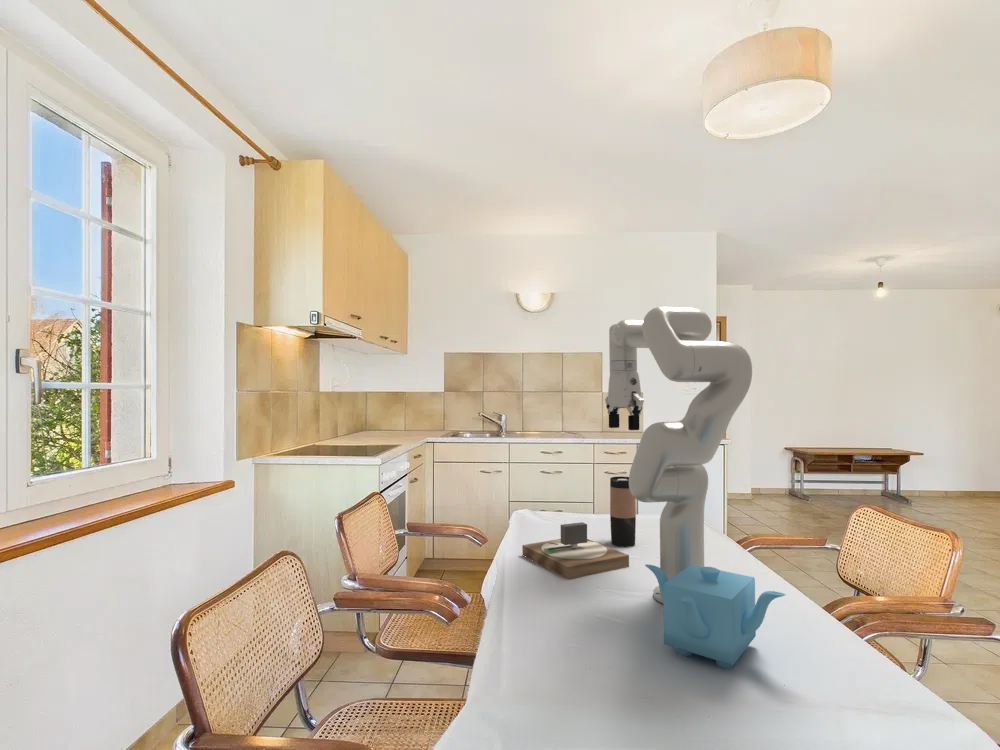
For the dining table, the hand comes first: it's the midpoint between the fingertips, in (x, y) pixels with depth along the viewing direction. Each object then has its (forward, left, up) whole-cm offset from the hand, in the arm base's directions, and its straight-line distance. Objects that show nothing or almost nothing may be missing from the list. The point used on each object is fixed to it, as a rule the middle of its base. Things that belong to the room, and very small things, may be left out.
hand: (623, 428), depth 152 cm
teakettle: (-48, +23, -36) cm, 65 cm away
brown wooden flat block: (+6, +13, -36) cm, 39 cm away
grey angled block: (+6, +15, -33) cm, 36 cm away
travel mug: (+12, -10, -36) cm, 40 cm away
